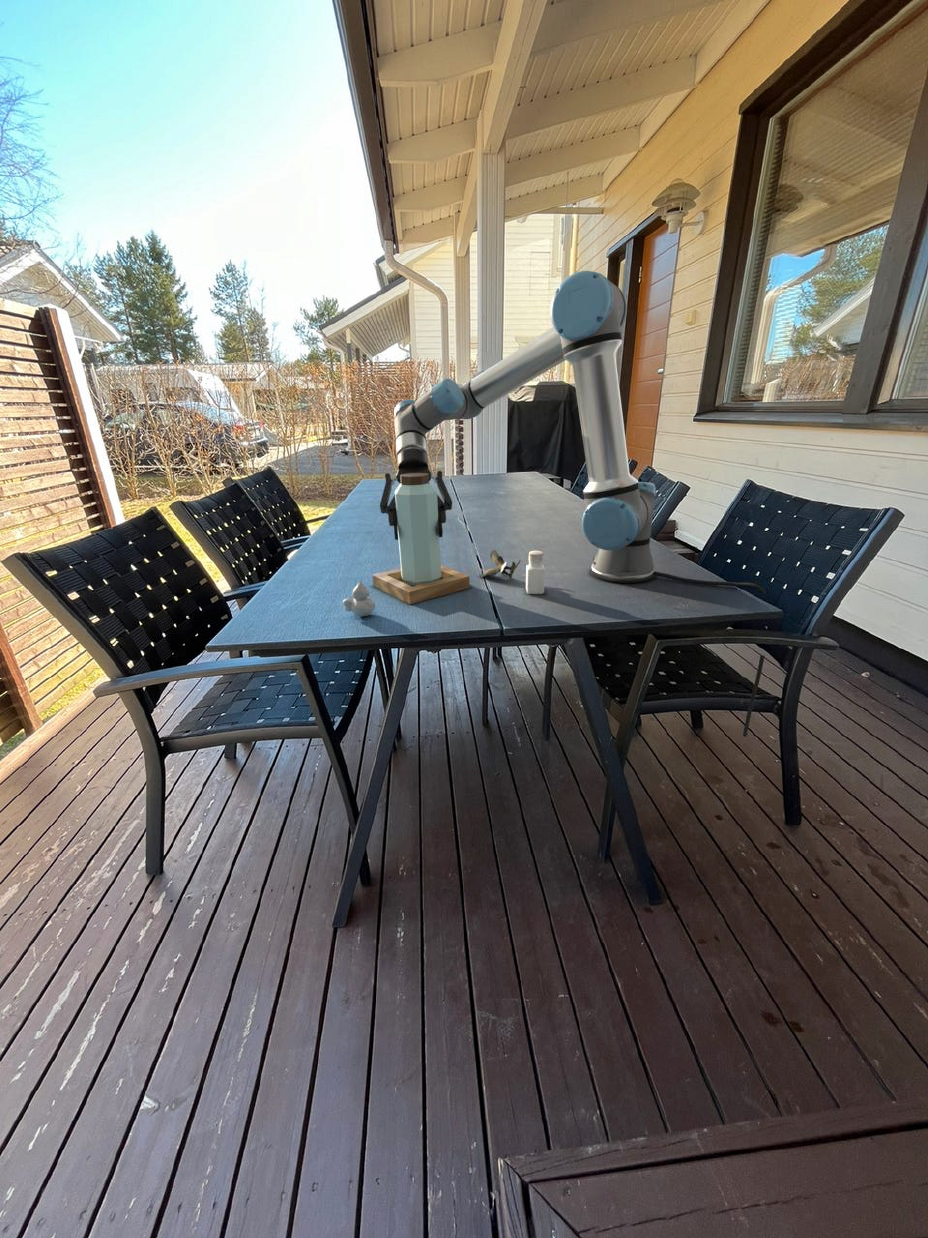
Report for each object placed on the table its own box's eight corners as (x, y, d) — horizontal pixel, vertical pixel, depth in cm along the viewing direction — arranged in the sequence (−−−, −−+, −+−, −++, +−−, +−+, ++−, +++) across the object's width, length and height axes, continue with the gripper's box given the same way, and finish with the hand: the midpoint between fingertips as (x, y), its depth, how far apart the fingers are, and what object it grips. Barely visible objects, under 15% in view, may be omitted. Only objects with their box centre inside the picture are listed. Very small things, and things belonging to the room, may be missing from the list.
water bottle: (436, 588, 122) (430, 477, 112) (395, 586, 124) (385, 477, 114) (446, 575, 131) (441, 471, 121) (407, 573, 133) (400, 472, 123)
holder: (469, 587, 126) (469, 576, 125) (410, 604, 117) (409, 591, 116) (430, 572, 139) (429, 561, 138) (373, 586, 130) (372, 574, 128)
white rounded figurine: (375, 619, 110) (372, 582, 107) (343, 621, 109) (339, 584, 106) (376, 609, 115) (373, 574, 111) (345, 611, 114) (341, 576, 111)
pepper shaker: (526, 594, 121) (527, 554, 117) (525, 589, 124) (526, 550, 121) (544, 594, 121) (545, 554, 117) (542, 589, 124) (543, 550, 121)
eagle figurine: (522, 570, 135) (492, 559, 139) (519, 552, 129) (488, 541, 133) (507, 592, 132) (477, 580, 136) (504, 574, 126) (472, 562, 130)
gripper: (456, 465, 133) (465, 541, 124) (368, 469, 131) (371, 546, 122) (457, 444, 126) (467, 523, 118) (364, 448, 124) (368, 529, 115)
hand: (418, 535), depth 120 cm, fingers closed on water bottle, 9 cm apart
